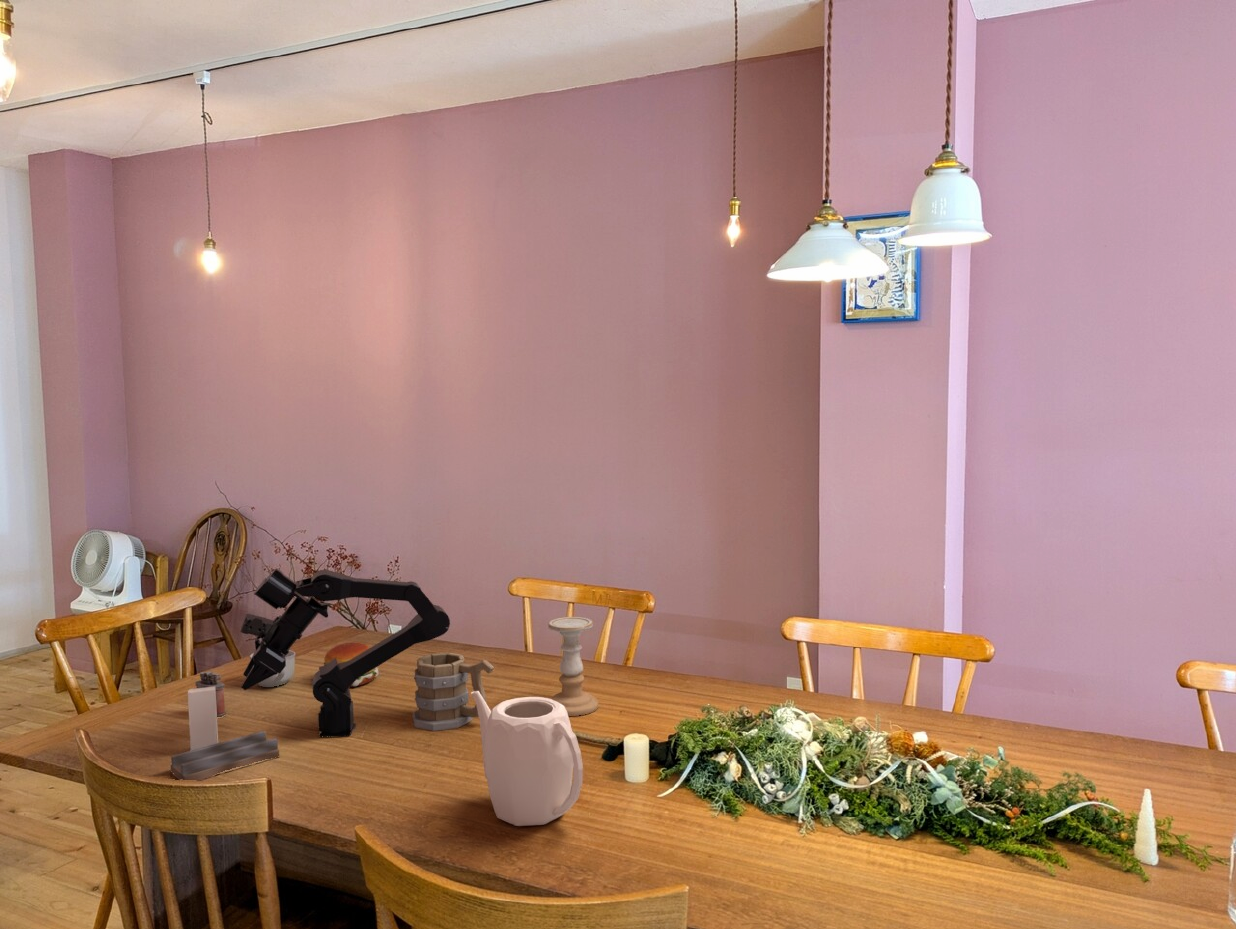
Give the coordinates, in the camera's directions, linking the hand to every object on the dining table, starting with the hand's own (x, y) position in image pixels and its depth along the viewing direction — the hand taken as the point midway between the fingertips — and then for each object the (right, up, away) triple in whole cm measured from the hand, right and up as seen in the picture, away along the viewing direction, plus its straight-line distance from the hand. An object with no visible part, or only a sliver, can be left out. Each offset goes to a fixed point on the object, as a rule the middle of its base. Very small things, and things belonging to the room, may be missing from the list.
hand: (244, 682), depth 185 cm
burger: (+10, -10, +42) cm, 44 cm away
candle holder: (+68, -11, +21) cm, 71 cm away
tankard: (+42, -12, +12) cm, 45 cm away
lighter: (-16, -12, +19) cm, 28 cm away
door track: (0, -14, -9) cm, 17 cm away
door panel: (-7, -14, -2) cm, 16 cm away
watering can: (+62, -15, -31) cm, 71 cm away
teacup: (-9, -11, +40) cm, 42 cm away
